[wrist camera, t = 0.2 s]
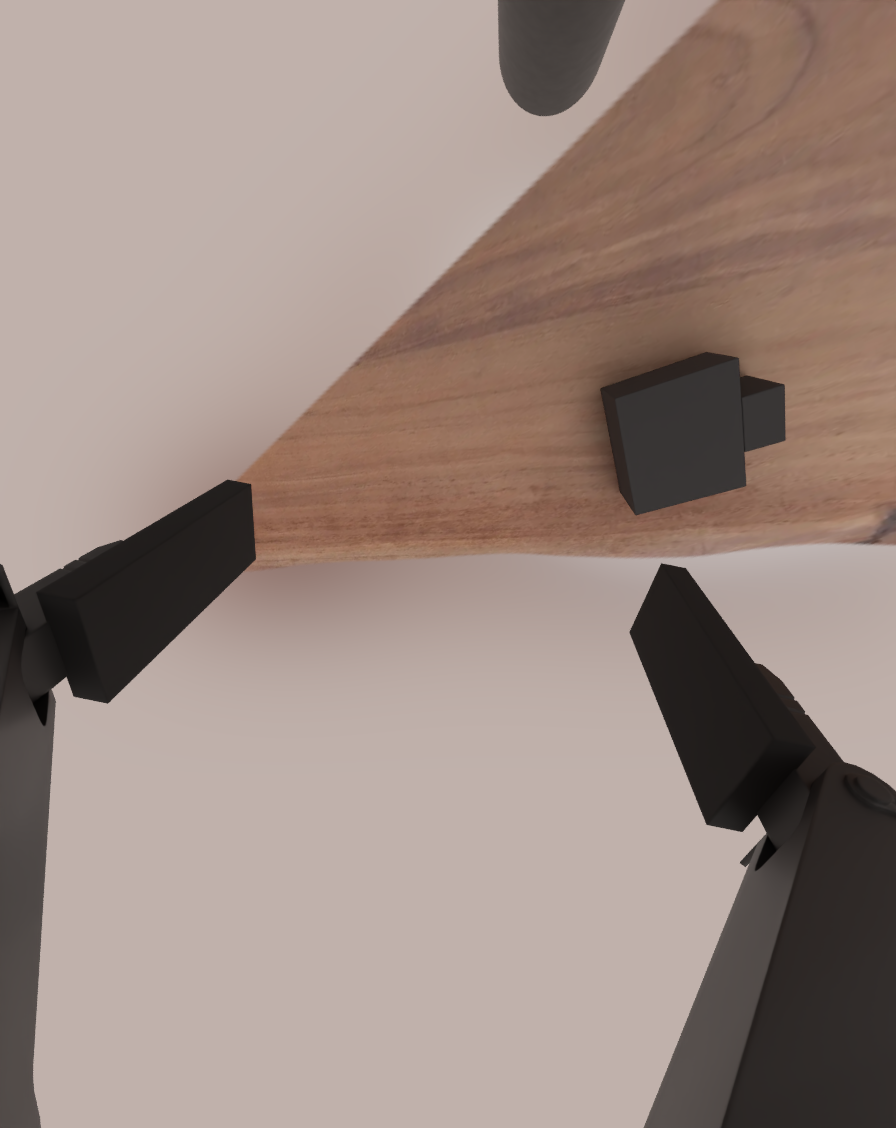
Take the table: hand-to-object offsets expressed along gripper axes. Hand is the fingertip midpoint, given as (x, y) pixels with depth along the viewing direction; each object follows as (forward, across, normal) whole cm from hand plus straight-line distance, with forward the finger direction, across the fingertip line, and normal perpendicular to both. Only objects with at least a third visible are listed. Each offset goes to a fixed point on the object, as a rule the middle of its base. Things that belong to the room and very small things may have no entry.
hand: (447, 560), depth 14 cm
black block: (+17, +11, +3) cm, 21 cm away
